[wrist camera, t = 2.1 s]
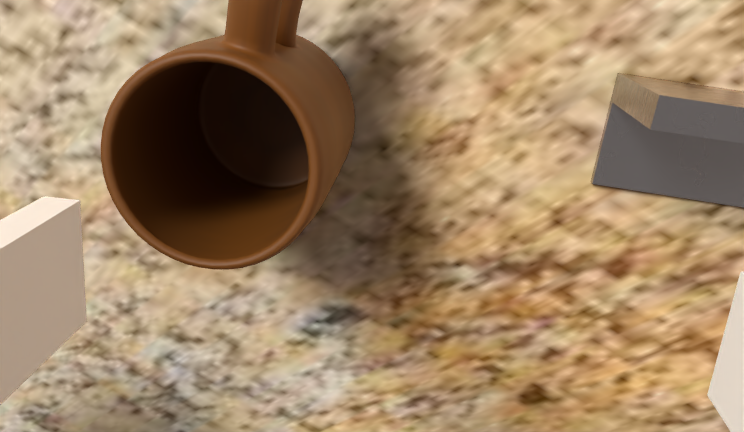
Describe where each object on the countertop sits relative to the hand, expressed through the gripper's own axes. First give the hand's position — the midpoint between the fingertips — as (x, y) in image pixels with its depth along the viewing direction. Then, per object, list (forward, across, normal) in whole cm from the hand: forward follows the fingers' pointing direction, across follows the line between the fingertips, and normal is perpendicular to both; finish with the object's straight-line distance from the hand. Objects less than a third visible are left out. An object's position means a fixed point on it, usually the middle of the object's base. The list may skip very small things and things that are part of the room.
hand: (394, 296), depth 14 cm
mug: (+18, -6, +2) cm, 19 cm away
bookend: (+18, +14, 0) cm, 23 cm away
